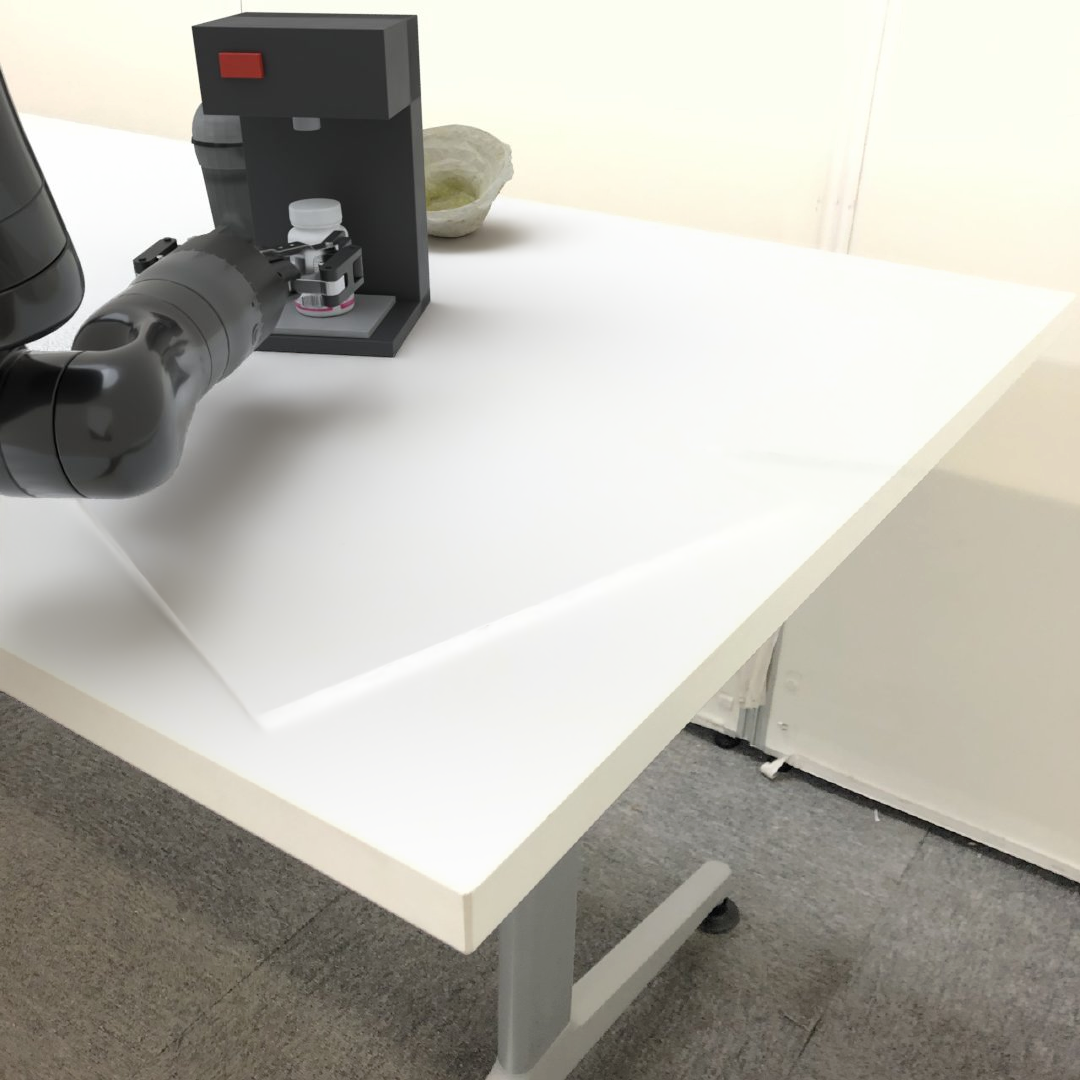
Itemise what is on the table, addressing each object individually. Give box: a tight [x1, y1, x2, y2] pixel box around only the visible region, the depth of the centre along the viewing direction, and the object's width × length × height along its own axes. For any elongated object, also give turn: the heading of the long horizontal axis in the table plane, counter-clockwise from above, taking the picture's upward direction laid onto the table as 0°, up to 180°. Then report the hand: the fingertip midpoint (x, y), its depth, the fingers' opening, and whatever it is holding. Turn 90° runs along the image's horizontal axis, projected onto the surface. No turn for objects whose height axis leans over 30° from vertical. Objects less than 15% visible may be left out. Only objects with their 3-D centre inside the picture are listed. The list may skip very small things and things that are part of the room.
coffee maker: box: [191, 11, 431, 358], centre depth 88 cm, size 14×14×23 cm
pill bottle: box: [288, 198, 354, 317], centre depth 89 cm, size 5×5×8 cm
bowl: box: [423, 123, 515, 238], centre depth 116 cm, size 15×14×10 cm
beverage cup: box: [190, 102, 255, 247], centre depth 104 cm, size 7×7×20 cm
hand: (284, 241), depth 81 cm, fingers open, 8 cm apart
